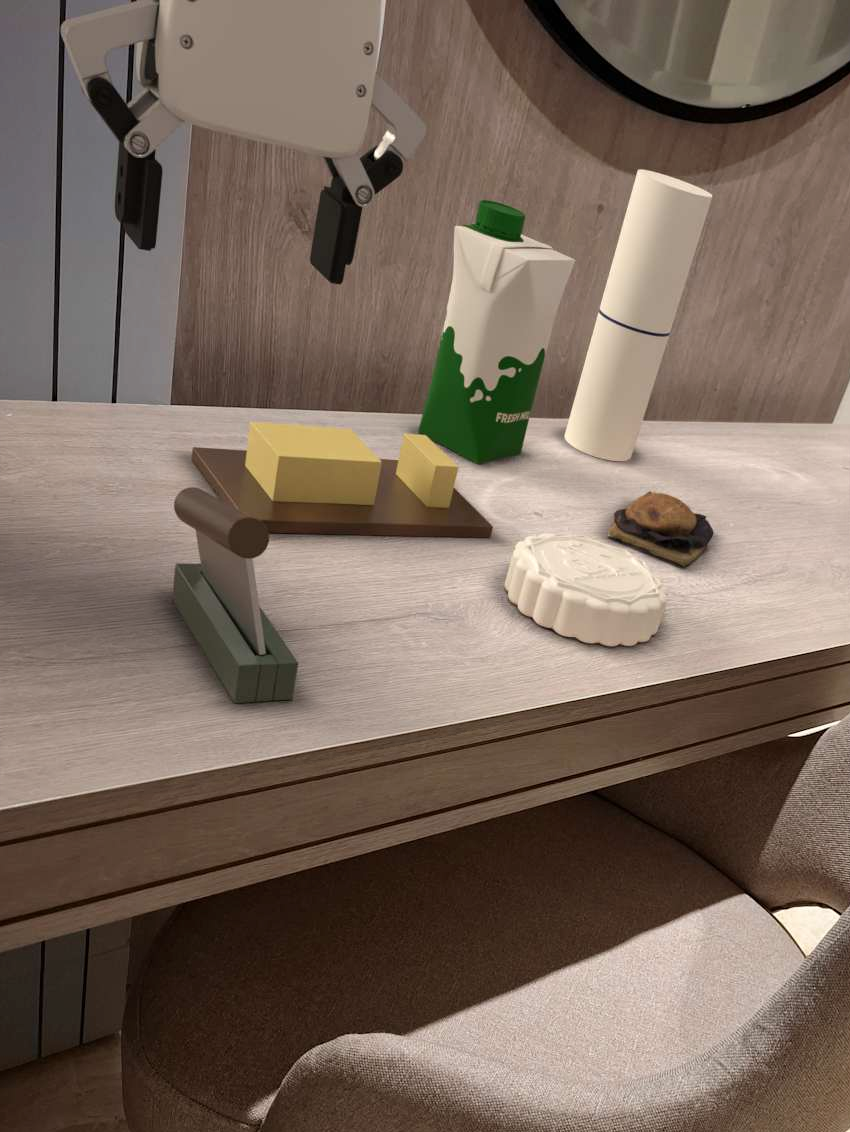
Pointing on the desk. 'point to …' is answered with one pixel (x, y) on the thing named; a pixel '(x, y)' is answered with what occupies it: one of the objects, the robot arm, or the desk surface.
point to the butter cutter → (228, 557)
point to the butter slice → (426, 470)
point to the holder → (233, 643)
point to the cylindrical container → (636, 314)
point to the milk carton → (493, 335)
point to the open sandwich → (663, 527)
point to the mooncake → (586, 589)
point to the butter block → (312, 464)
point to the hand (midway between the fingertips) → (236, 259)
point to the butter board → (387, 516)
